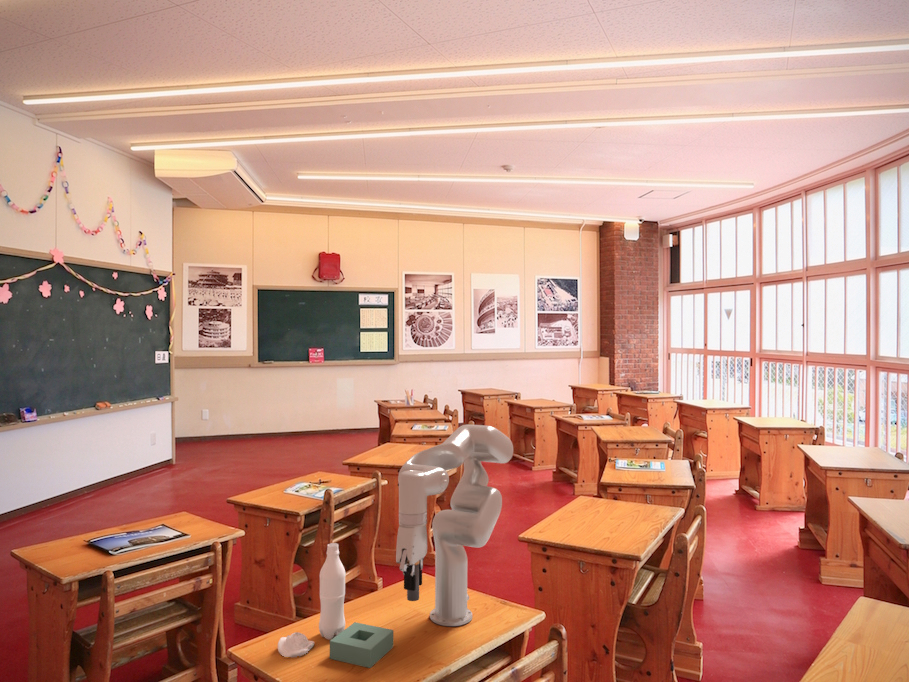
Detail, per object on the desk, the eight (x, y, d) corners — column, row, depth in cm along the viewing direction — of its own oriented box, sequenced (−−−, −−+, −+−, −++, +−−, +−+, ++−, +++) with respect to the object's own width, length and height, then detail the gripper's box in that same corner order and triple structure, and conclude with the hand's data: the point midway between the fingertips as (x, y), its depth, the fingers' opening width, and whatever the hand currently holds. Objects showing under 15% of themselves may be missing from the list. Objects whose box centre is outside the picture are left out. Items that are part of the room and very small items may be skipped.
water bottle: (313, 635, 170) (314, 544, 170) (334, 627, 175) (335, 539, 175) (328, 644, 165) (329, 550, 165) (350, 635, 170) (351, 544, 171)
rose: (270, 631, 163) (304, 621, 169) (270, 648, 163) (304, 638, 169) (286, 645, 155) (321, 634, 161) (286, 663, 155) (321, 651, 161)
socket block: (354, 638, 168) (354, 622, 168) (393, 647, 163) (393, 630, 163) (329, 658, 157) (329, 640, 157) (370, 668, 152) (370, 649, 152)
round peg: (410, 595, 165) (410, 554, 165) (421, 597, 164) (421, 556, 164) (404, 600, 162) (404, 558, 162) (416, 602, 161) (415, 560, 161)
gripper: (414, 509, 172) (414, 574, 172) (385, 524, 157) (385, 596, 157) (438, 511, 169) (438, 578, 169) (411, 528, 154) (411, 601, 154)
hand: (413, 586), depth 163 cm, fingers closed on round peg, 3 cm apart
